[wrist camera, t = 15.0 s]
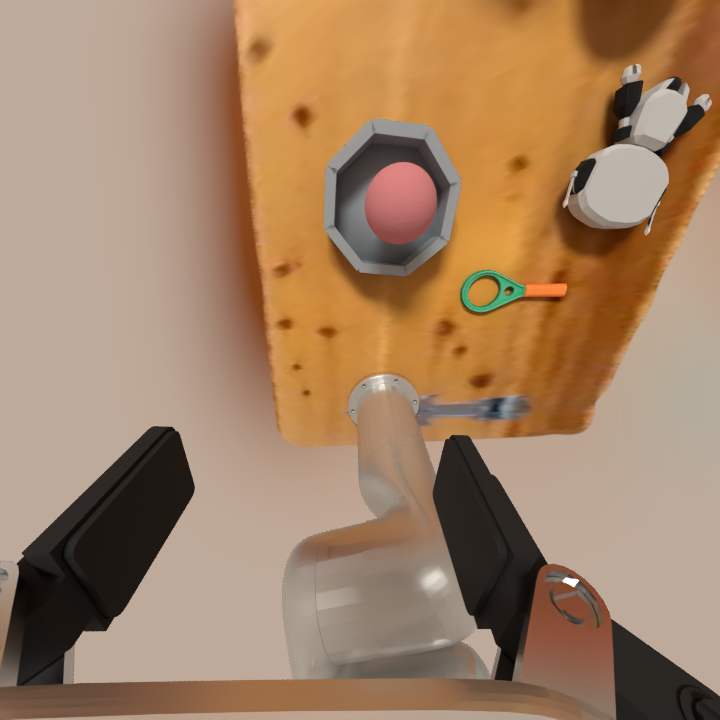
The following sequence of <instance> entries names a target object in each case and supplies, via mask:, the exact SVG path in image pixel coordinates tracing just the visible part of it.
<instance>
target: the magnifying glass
mask: <svg viewBox="0 0 720 720" xmlns="http://www.w3.org/2000/svg"><path fill="white" fill-rule="evenodd" d="M485 275H490V276H493V277H494V278H496V280H497V282H498V285H499V290H498V294H497V296H496V297H495V299H494V300H493V301H492V302H491V303H489V304H488V305H485V306H475V305H473V304H471V303H470V301H469V299H468V290H469V288H470V286H471V284H472V283H473V282H474V281H475V280H476V279H477V278H479V277H481V276H485ZM509 286H510V287H511V288H512V290H511V293H510V294H508V295H504V290H505V289H506V288H507V287H509ZM566 290H567V285H566V284H524V285H520V284H518V283H516V282H514V281H512V280H511V279H509V278H507V277H505V276H503V275H501V274H499V273H497V272H495V271H492V270H482V271H478V272H476V273H474V274H472V275H471V276H469V277H468V278H467V279H466V280H465V282H464V283H463V285H462V288H461V293H460V295H461V300H462V302H463V304H464V305H465V306H466V307H467V308H469V309H471V310H473V311H476V312H486V311H490V310H492V309H494V308H497V307H499V306H501V305H503V304H505V303H508V302H510V301H512V300H514V299H517V298H519V297H563V296H564V295H565V293H566Z"/></svg>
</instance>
